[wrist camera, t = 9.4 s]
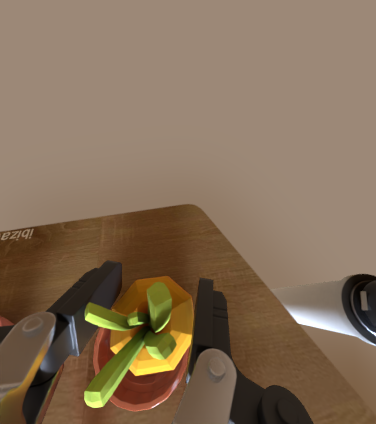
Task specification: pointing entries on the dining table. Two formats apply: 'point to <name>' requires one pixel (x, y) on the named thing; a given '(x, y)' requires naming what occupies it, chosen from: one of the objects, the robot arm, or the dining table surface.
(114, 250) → the dining table surface
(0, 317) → the cell model
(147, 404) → the mixing bowl
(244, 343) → the dining table surface
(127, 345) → the carrot
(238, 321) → the dining table surface
